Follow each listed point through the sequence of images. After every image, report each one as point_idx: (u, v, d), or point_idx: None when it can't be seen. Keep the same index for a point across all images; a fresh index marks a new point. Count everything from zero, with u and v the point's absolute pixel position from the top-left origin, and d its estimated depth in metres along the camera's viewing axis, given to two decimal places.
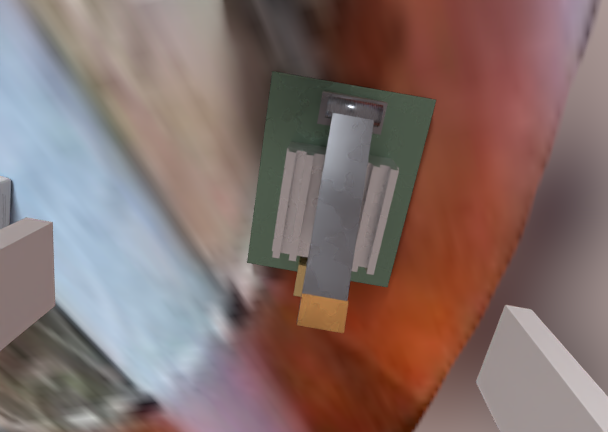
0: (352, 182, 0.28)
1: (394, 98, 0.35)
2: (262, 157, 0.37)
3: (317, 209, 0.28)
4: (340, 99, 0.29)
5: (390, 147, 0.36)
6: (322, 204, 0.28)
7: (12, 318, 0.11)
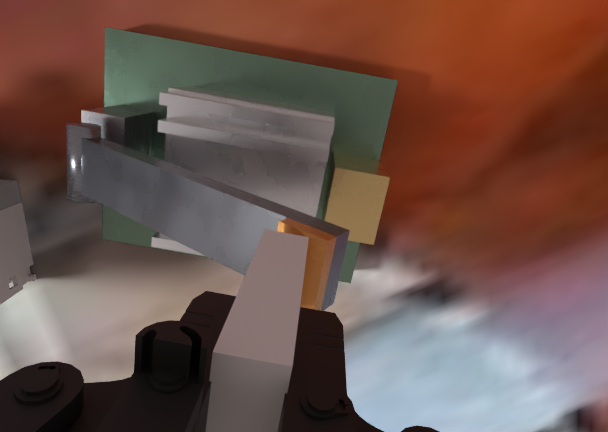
0: (142, 179, 0.19)
1: (111, 87, 0.26)
2: (204, 255, 0.29)
3: (174, 238, 0.18)
4: (67, 182, 0.22)
5: None
6: (168, 229, 0.18)
7: None
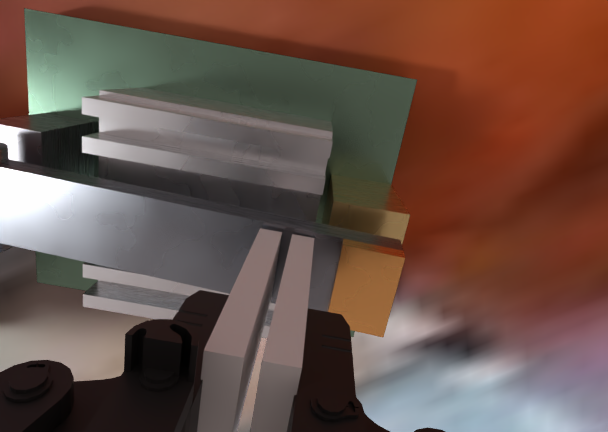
0: (114, 213, 0.14)
1: (37, 89, 0.20)
2: None
3: (173, 279, 0.15)
4: None
5: None
6: (163, 270, 0.15)
7: (266, 312, 0.13)
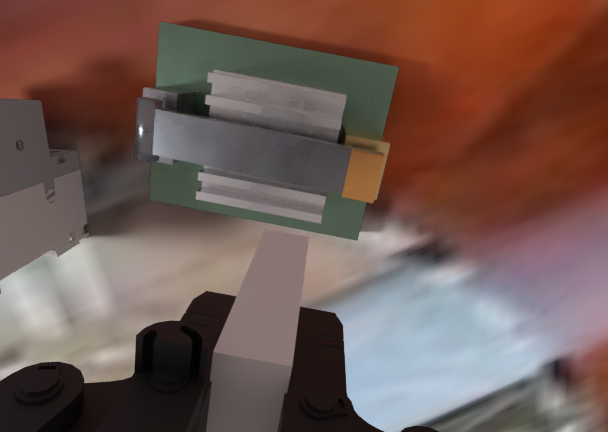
0: (226, 136, 0.26)
1: (162, 71, 0.31)
2: (234, 215, 0.35)
3: (256, 175, 0.27)
4: (136, 146, 0.27)
5: None
6: (251, 169, 0.27)
7: None
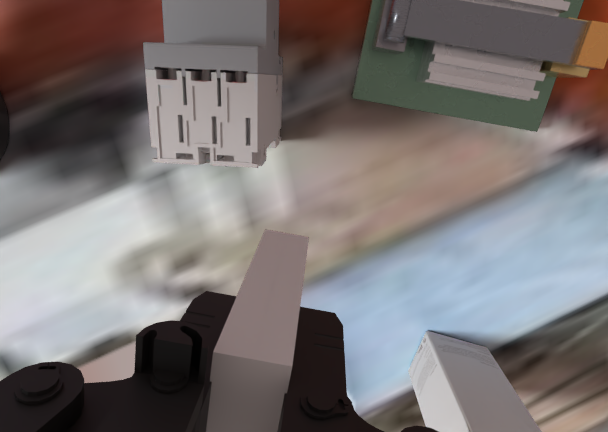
0: (474, 15, 0.31)
1: None
2: (428, 110, 0.39)
3: (496, 50, 0.32)
4: (392, 27, 0.32)
5: None
6: (492, 45, 0.31)
7: None
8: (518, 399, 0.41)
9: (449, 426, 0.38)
